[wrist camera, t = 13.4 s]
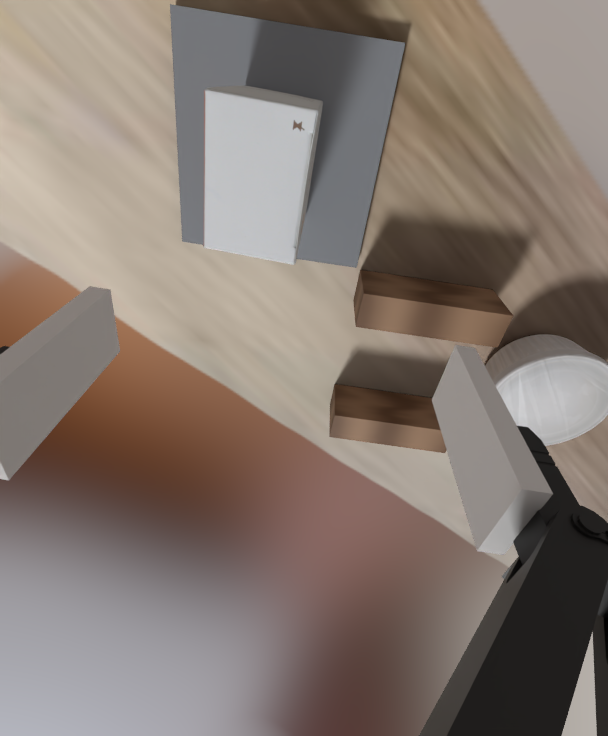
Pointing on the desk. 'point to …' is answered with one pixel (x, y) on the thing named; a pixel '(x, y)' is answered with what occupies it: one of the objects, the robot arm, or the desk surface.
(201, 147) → the slate grey mat
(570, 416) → the ramekin
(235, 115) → the small box
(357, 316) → the walnut crossbar stand
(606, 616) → the robot arm
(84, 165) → the desk surface
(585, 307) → the desk surface
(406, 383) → the desk surface
